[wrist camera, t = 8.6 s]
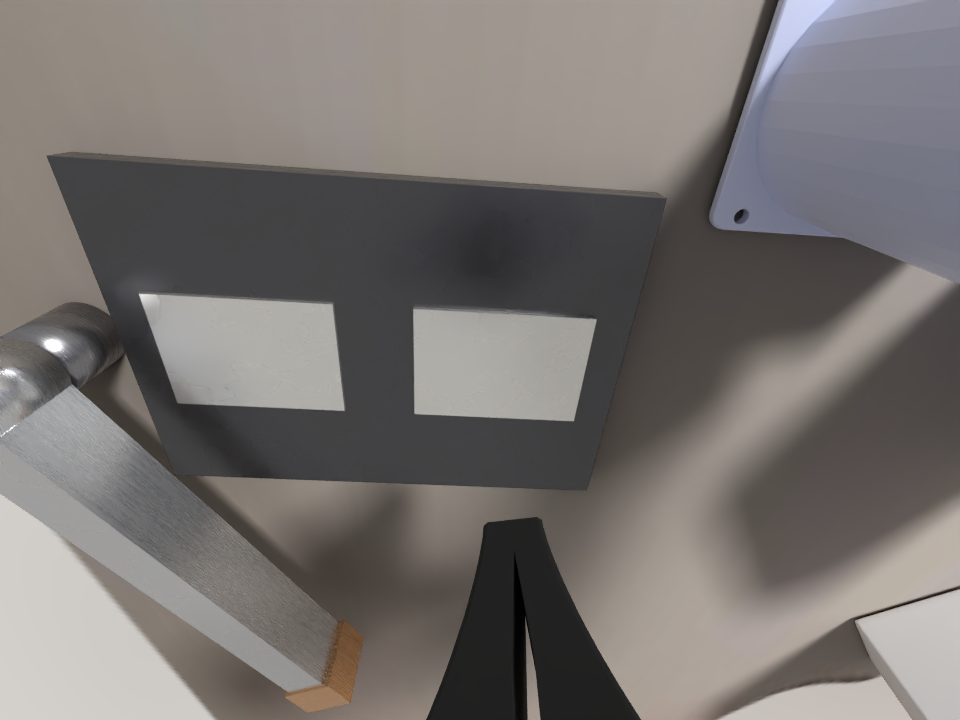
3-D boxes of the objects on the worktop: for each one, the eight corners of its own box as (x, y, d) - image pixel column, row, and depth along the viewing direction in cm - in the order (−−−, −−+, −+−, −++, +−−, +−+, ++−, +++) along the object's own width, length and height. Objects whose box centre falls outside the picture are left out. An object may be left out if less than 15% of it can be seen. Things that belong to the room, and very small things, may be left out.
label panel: (656, 192, 16) (687, 210, 13) (582, 475, 23) (594, 518, 21) (-36, 144, 15) (-131, 154, 12) (115, 457, 22) (73, 500, 20)
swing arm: (365, 637, 25) (352, 703, 23) (323, 647, 26) (306, 713, 23) (23, 325, 15) (-79, 377, 12) (-34, 354, 16) (-142, 410, 13)
